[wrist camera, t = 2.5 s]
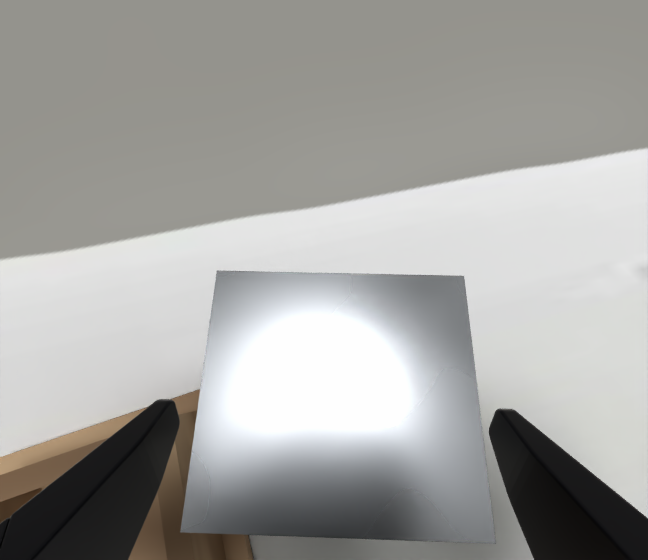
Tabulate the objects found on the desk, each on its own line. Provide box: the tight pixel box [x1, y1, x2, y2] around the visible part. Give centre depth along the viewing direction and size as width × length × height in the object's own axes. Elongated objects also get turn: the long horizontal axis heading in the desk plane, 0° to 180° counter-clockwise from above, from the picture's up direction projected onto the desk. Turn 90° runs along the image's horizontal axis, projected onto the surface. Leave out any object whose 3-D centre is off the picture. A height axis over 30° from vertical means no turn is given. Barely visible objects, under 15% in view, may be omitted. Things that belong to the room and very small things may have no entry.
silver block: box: [180, 271, 496, 544], centre depth 11 cm, size 4×4×13 cm
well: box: [0, 389, 253, 560], centre depth 14 cm, size 11×11×4 cm
